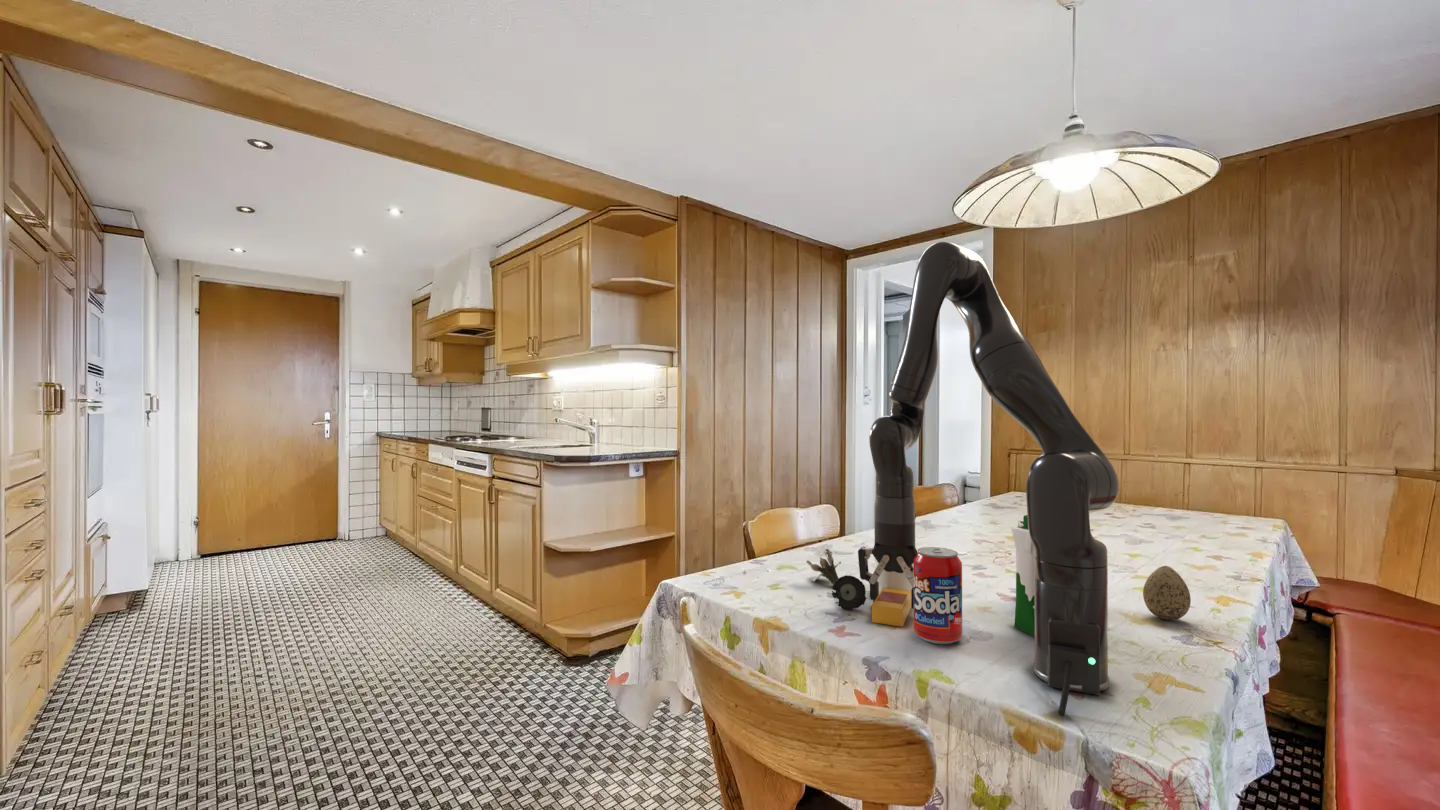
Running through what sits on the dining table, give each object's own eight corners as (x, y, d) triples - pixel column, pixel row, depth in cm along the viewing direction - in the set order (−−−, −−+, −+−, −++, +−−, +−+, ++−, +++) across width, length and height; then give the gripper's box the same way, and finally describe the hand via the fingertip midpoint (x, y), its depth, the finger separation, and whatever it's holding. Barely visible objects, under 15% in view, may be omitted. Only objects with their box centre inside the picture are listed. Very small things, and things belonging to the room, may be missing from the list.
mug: (865, 586, 132) (865, 539, 132) (901, 586, 132) (901, 539, 132) (881, 604, 120) (881, 552, 120) (920, 604, 120) (920, 552, 120)
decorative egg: (1137, 611, 116) (1137, 560, 116) (1180, 615, 114) (1180, 562, 114) (1151, 623, 109) (1151, 569, 109) (1198, 628, 107) (1197, 572, 107)
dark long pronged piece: (826, 617, 116) (812, 566, 117) (814, 595, 138) (802, 552, 140) (871, 605, 116) (855, 554, 117) (851, 584, 138) (838, 542, 139)
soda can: (959, 632, 105) (959, 547, 105) (965, 649, 97) (964, 557, 97) (912, 627, 107) (912, 544, 107) (914, 644, 99) (914, 554, 99)
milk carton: (1045, 621, 110) (1045, 513, 110) (1087, 639, 102) (1087, 522, 102) (1006, 625, 108) (1005, 515, 108) (1045, 644, 99) (1045, 525, 99)
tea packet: (902, 626, 107) (902, 608, 107) (871, 622, 110) (871, 604, 110) (911, 606, 118) (911, 590, 118) (883, 603, 121) (883, 586, 121)
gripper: (852, 519, 114) (853, 605, 114) (931, 525, 108) (932, 617, 108) (861, 512, 121) (861, 594, 121) (936, 518, 115) (936, 604, 115)
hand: (894, 604), depth 114 cm, fingers open, 6 cm apart
